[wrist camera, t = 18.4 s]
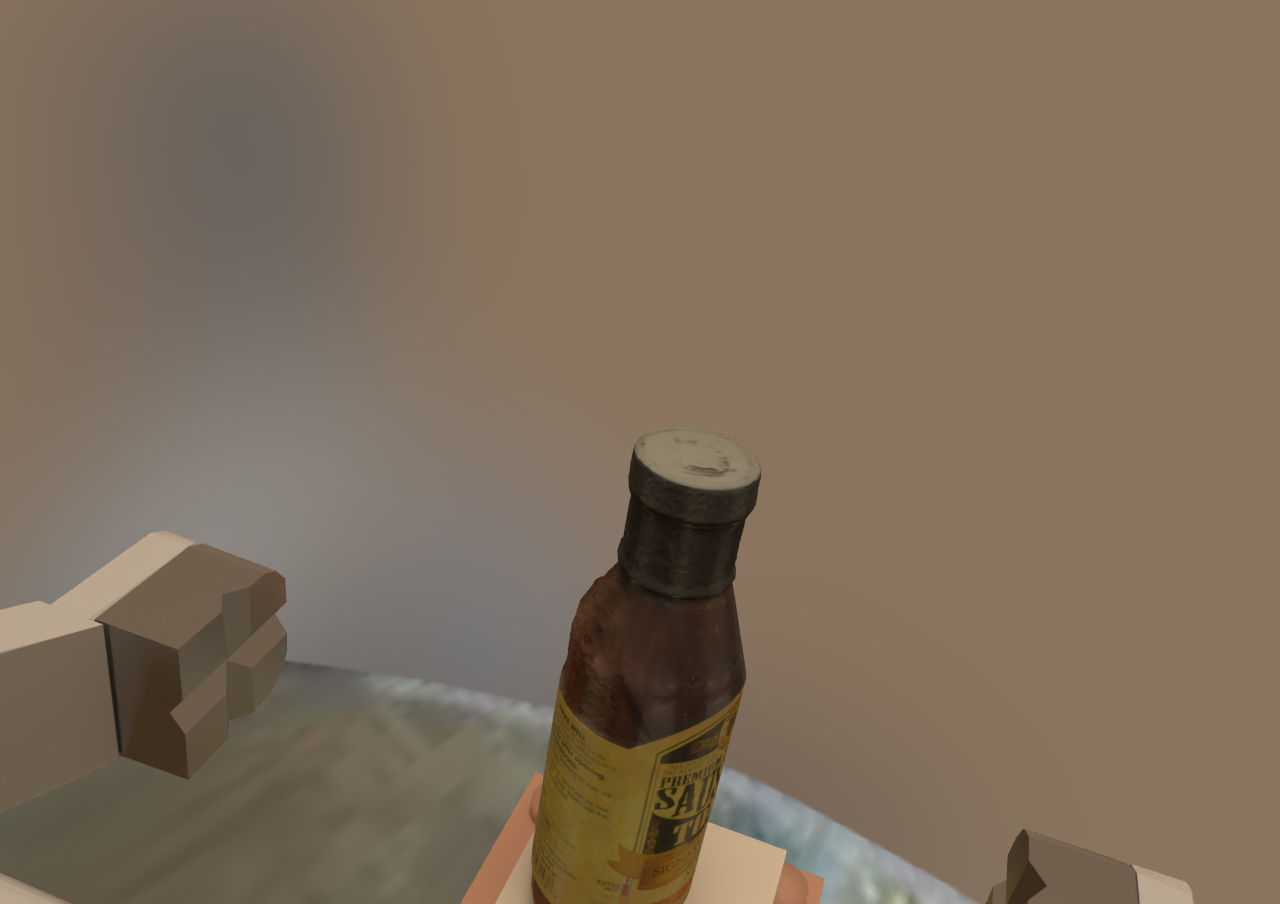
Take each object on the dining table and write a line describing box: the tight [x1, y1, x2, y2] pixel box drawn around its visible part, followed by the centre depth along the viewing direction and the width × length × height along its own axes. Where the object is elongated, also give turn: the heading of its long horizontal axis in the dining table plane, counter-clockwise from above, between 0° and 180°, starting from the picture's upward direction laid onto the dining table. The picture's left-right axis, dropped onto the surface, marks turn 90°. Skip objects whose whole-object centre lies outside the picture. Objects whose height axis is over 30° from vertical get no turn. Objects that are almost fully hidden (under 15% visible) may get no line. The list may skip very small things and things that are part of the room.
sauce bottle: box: [531, 426, 761, 904], centre depth 38 cm, size 6×6×20 cm
